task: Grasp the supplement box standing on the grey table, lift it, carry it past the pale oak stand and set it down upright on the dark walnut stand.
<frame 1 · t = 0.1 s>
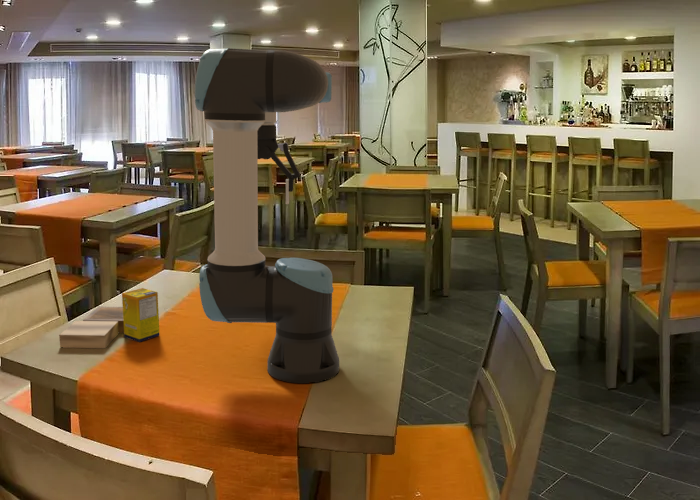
hand: (262, 203, 183), 28 cm above the table, fingers open, 13 cm apart
oak stand: (90, 340, 156), on the table
supplement box: (141, 337, 159), on the table
walnut stand: (114, 325, 167), on the table
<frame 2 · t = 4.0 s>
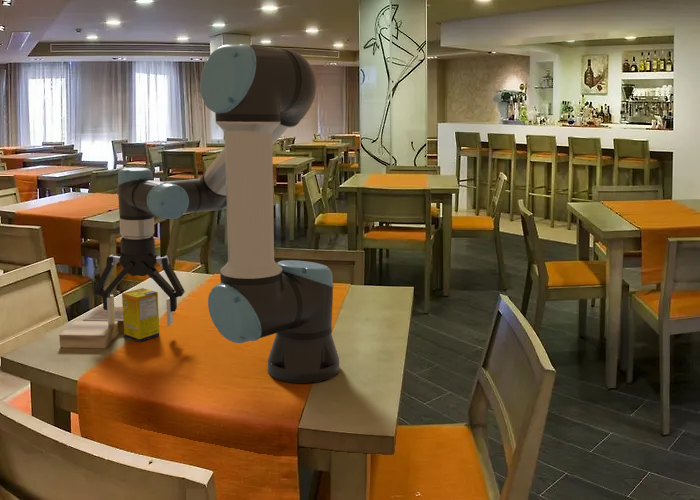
hand: (140, 323, 159), 3 cm above the table, fingers open, 13 cm apart
nothing on the table moved.
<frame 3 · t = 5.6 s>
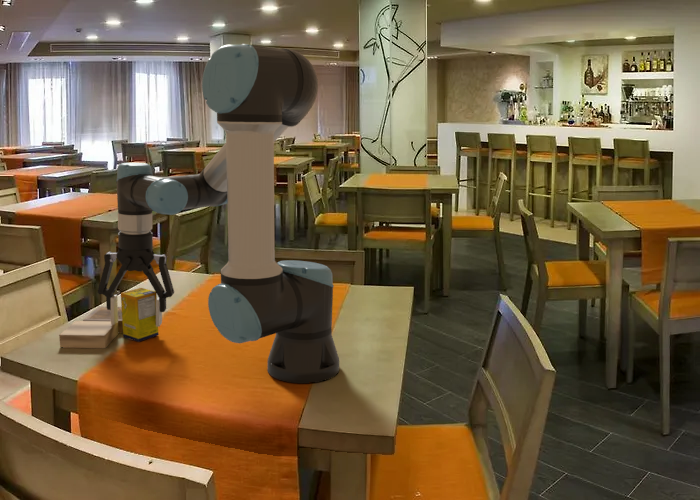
hand: (136, 323, 159), 3 cm above the table, fingers open, 10 cm apart
supplement box: (140, 337, 159), on the table, touching gripper
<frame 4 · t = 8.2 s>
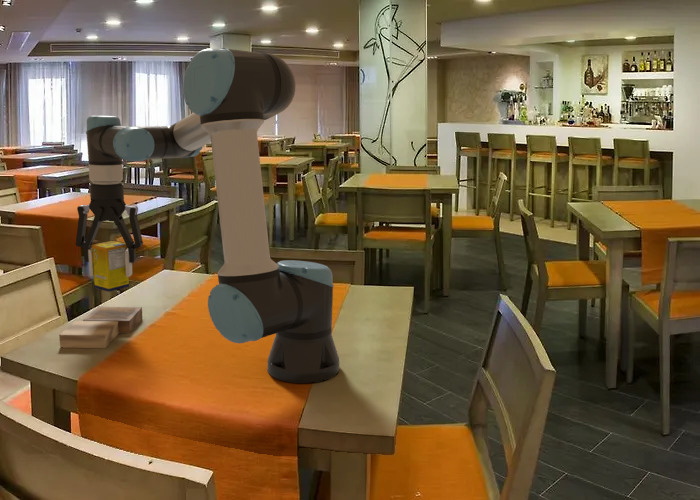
hand: (111, 274, 164), 13 cm above the table, fingers closed on supplement box, 8 cm apart
supplement box: (111, 288, 165), point 9 cm above the table, touching gripper
when the fingers open (5 cm above the table, at t = 10.4 s): supplement box stays where it is, resting on walnut stand.
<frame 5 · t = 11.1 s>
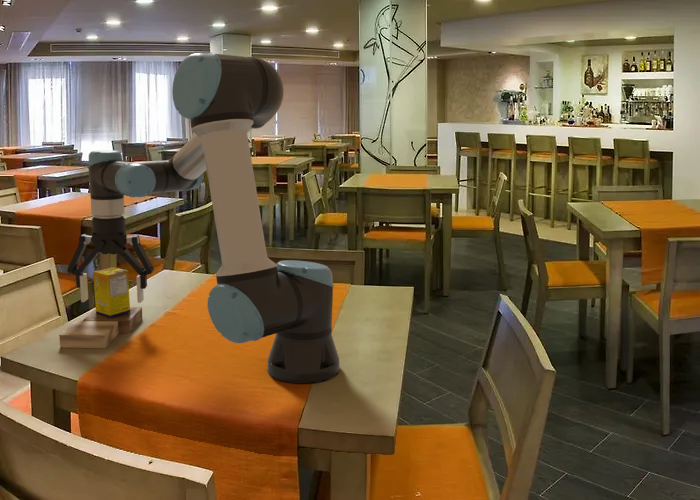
hand: (112, 300, 165), 6 cm above the table, fingers open, 13 cm apart
supplement box: (113, 314, 166), point 3 cm above the table, touching walnut stand
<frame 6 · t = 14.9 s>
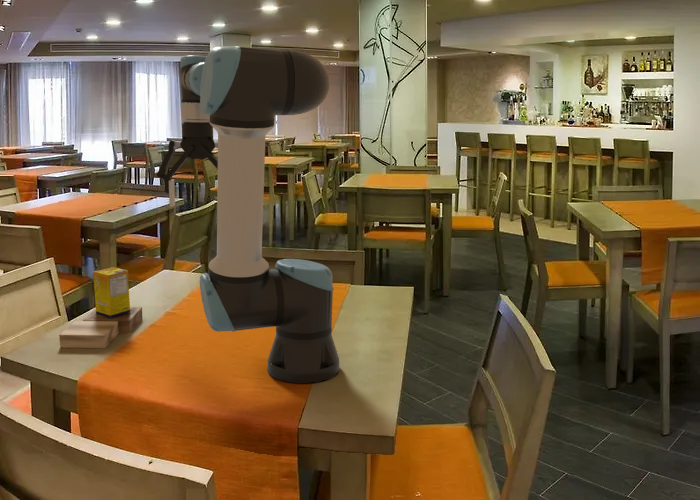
hand: (199, 206, 170), 29 cm above the table, fingers open, 13 cm apart
nothing on the table moved.
at the end: supplement box inside the target area on the walnut stand (0.1 cm from its centre), point 2.8 cm above the walnut stand's base; supplement box tilted 0°; the gripper is holding nothing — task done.
